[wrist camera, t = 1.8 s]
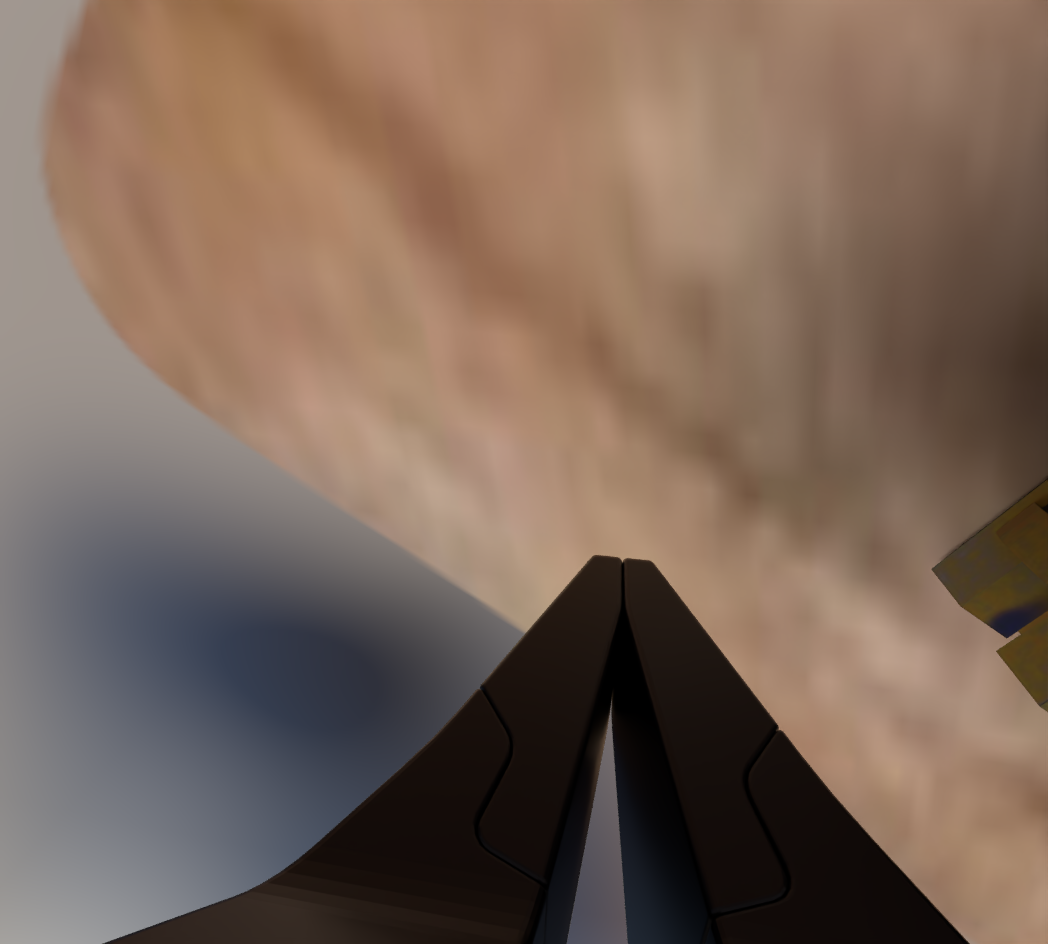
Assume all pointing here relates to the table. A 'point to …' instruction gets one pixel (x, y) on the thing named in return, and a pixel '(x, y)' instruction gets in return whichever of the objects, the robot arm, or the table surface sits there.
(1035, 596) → the pipe connector
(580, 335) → the table surface
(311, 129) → the table surface
